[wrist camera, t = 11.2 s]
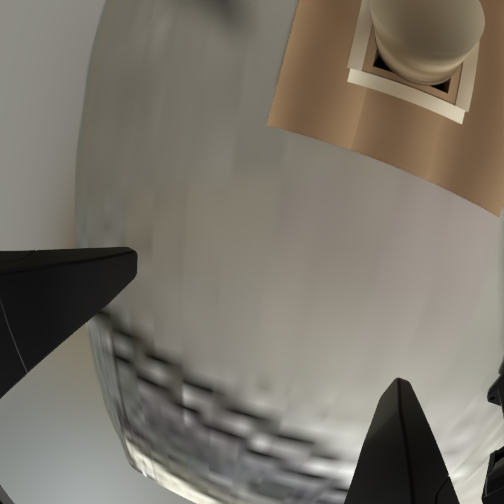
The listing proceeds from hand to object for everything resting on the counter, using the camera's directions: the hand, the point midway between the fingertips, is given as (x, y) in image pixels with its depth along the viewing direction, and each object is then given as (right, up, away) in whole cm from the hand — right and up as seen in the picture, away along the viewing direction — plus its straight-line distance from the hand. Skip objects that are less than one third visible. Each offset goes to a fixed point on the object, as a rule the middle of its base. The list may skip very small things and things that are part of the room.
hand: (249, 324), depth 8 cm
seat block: (+10, +14, +5) cm, 17 cm away
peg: (+10, +14, +5) cm, 17 cm away
